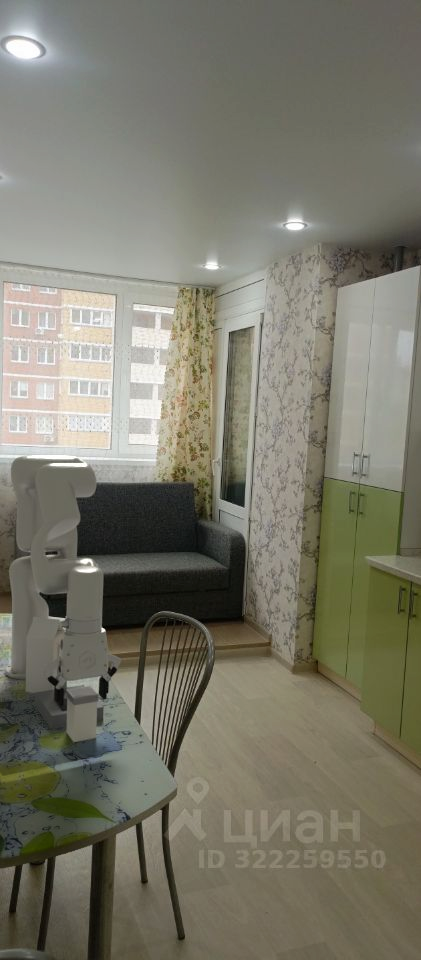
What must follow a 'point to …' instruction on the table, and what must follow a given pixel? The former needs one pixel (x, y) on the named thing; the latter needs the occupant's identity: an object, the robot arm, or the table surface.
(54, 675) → the milk carton
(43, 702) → the socket
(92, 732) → the plug
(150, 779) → the table surface
